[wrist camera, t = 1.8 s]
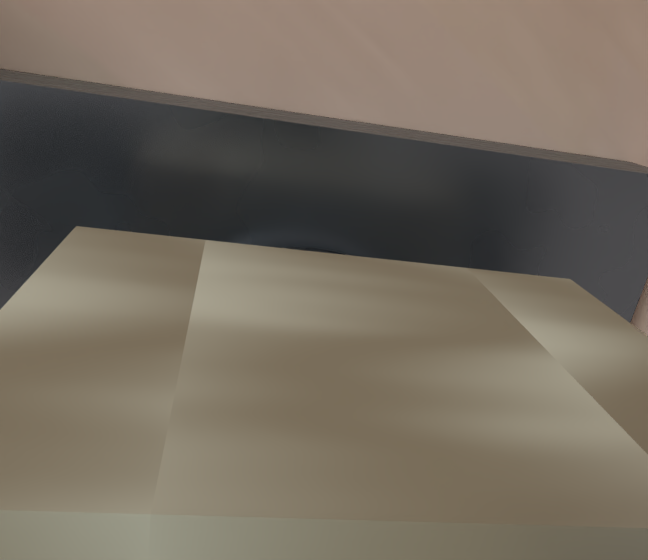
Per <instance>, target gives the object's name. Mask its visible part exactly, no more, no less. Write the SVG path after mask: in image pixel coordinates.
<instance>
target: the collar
mask: <svg viewBox="0 0 648 560" xmlns="http://www.w3.org/2000/svg"><path fill="white" fill-rule="evenodd" d="M0 560H648V336H647V335H645V334H644V333H643V332H641V331H640V330H639V329H637V328H636V327H635V326H633V325H632V324H631V323H629V322H628V321H627V320H625V319H624V318H622V317H621V316H620V315H618V314H617V313H616V312H614V311H613V310H612V309H610V308H609V307H608V306H606V305H605V304H603V303H602V302H601V301H599V300H598V299H597V298H595V297H594V296H593V295H591V294H590V293H589V292H587V291H586V290H585V289H583V288H582V287H580V286H579V285H578V284H576V283H575V282H574V281H572V280H571V279H565V278H556V277H547V276H538V275H528V274H519V273H510V272H500V271H491V270H482V269H472V268H463V267H454V266H444V265H435V264H426V263H416V262H407V261H398V260H388V259H379V258H370V257H360V256H351V255H342V254H332V253H323V252H314V251H304V250H295V249H286V248H276V247H267V246H258V245H248V244H239V243H230V242H220V241H211V240H202V239H192V238H183V237H174V236H164V235H155V234H146V233H136V232H127V231H118V230H108V229H99V228H90V227H80V226H76V227H75V228H74V229H73V230H72V231H71V232H70V233H69V235H68V236H67V237H66V238H65V239H64V240H63V241H62V242H61V243H60V245H59V246H58V247H57V248H56V249H55V250H54V251H53V252H52V253H51V254H50V256H49V257H48V258H47V259H46V260H45V261H44V262H43V263H42V264H41V265H40V267H39V268H38V269H37V270H36V271H35V272H34V273H33V274H32V275H31V276H30V278H29V279H28V280H27V281H26V282H25V283H24V284H23V285H22V286H21V287H20V289H19V290H18V291H17V292H16V293H15V294H14V295H13V296H12V297H11V298H10V300H9V301H8V302H7V303H6V304H5V305H4V306H3V307H2V308H1V309H0Z"/></svg>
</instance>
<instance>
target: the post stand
mask: <svg viewBox="0 0 648 560" xmlns="http://www.w3.org/2000/svg"><path fill="white" fill-rule="evenodd" d="M76 226H80V227H90V228H99V229H108V230H118V231H127V232H136V233H146V234H155V235H164V236H174V237H183V238H192V239H202V240H211V241H220V242H230V243H239V244H248V245H258V246H267V247H276V248H286V249H295V250H304V251H314V252H323V253H332V254H342V255H351V256H360V257H370V258H379V259H388V260H398V261H407V262H416V263H426V264H435V265H444V266H454V267H463V268H472V269H482V270H491V271H500V272H510V273H519V274H528V275H538V276H547V277H556V278H565V279H571V280H572V281H574V282H575V283H576V284H578V285H579V286H580V287H582V288H583V289H585V290H586V291H587V292H589V293H590V294H591V295H593V296H594V297H595V298H597V299H598V300H599V301H601V302H602V303H603V304H605V305H606V306H608V307H609V308H610V309H612V310H613V311H614V312H616V313H617V314H618V315H620V316H621V317H622V318H624V319H625V320H627V321H628V322H629V323H630V322H631V319H632V317H633V314H634V311H635V309H636V306H637V303H638V301H639V298H640V296H641V293H642V290H643V288H644V285H645V282H646V280H647V277H648V167H645V166H642V165H638V164H635V163H632V162H627V161H620V160H613V159H607V158H600V157H593V156H586V155H580V154H573V153H566V152H559V151H552V150H546V149H539V148H532V147H525V146H519V145H512V144H505V143H498V142H492V141H485V140H478V139H471V138H464V137H458V136H451V135H444V134H437V133H431V132H424V131H417V130H410V129H404V128H397V127H390V126H383V125H376V124H370V123H363V122H356V121H349V120H343V119H336V118H329V117H322V116H316V115H309V114H302V113H295V112H288V111H282V110H275V109H268V108H261V107H255V106H248V105H241V104H234V103H228V102H221V101H214V100H207V99H200V98H194V97H187V96H180V95H173V94H167V93H160V92H153V91H146V90H140V89H133V88H126V87H119V86H112V85H106V84H99V83H92V82H85V81H79V80H72V79H65V78H58V77H52V76H45V75H38V74H31V73H24V72H18V71H11V70H4V69H0V309H1V308H2V307H3V306H4V305H5V304H6V303H7V302H8V301H9V300H10V298H11V297H12V296H13V295H14V294H15V293H16V292H17V291H18V290H19V289H20V287H21V286H22V285H23V284H24V283H25V282H26V281H27V280H28V279H29V278H30V276H31V275H32V274H33V273H34V272H35V271H36V270H37V269H38V268H39V267H40V265H41V264H42V263H43V262H44V261H45V260H46V259H47V258H48V257H49V256H50V254H51V253H52V252H53V251H54V250H55V249H56V248H57V247H58V246H59V245H60V243H61V242H62V241H63V240H64V239H65V238H66V237H67V236H68V235H69V233H70V232H71V231H72V230H73V229H74V228H75V227H76Z"/></svg>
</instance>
